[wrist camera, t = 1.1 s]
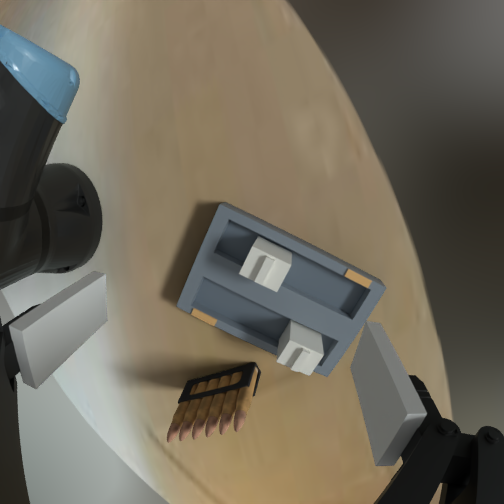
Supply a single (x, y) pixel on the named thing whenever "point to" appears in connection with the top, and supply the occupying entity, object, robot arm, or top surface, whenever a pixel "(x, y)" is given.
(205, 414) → the ammunition clip
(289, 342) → the tab
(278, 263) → the tab
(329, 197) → the top surface
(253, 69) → the top surface
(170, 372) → the top surface
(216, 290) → the switch bank
